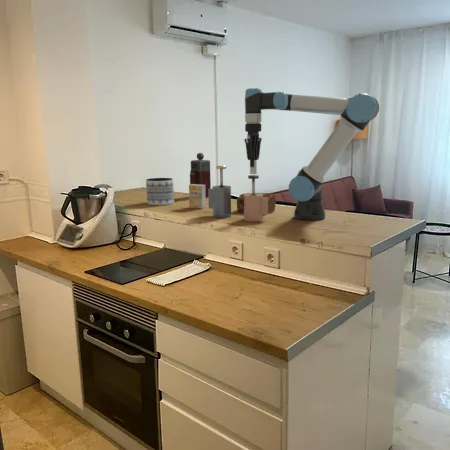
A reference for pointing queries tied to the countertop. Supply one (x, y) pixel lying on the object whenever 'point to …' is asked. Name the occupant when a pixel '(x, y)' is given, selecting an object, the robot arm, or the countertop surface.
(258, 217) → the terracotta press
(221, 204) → the faceted cylinder
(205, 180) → the dark red french press
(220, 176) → the steel plunger
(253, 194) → the glossy charcoal round knob
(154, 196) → the planter
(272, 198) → the bread
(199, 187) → the supplement box
